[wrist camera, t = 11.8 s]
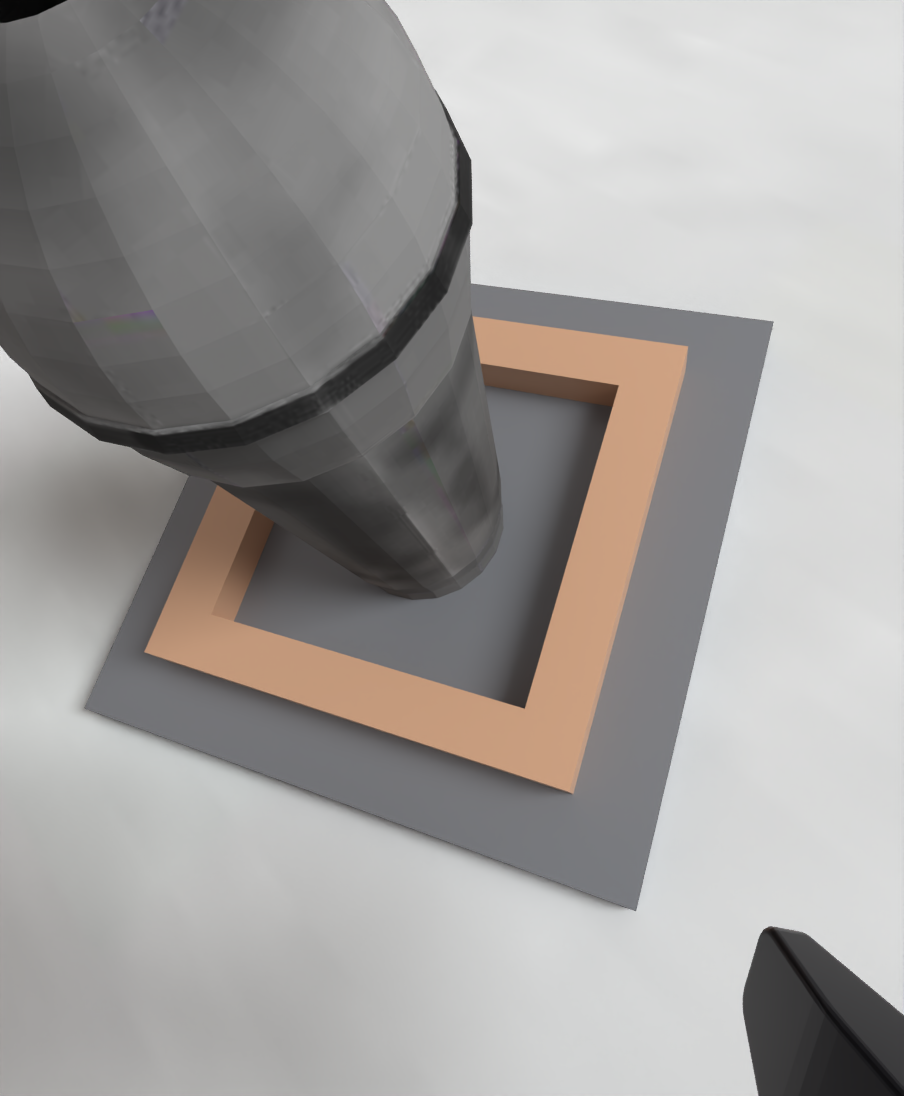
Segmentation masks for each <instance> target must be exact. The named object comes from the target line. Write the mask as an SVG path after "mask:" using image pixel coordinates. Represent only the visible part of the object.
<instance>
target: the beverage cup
mask: <svg viewBox="0 0 904 1096" xmlns="http://www.w3.org/2000/svg"><path fill="white" fill-rule="evenodd" d="M471 226H472V173H471V159H470V157H469V155H468V153H467V151H466V148H465V146H464V144H463V142H462V140H461V138H460V136H459V134H458V132H457V130H456V128H455V126H454V123H453V121H452V119H451V117H450V115H449V113H448V111H447V109H446V107H445V106H444V104H443V102H442V100H441V99H440V97H439V95H438V94H437V92H436V90H435V89H434V87H433V85H432V83H431V81H430V79H429V77H428V75H427V73H426V71H425V69H424V66H423V64H422V62H421V60H420V58H419V56H418V54H417V52H416V50H415V48H414V47H413V45H412V43H411V41H410V39H409V37H408V35H407V34H406V32H405V30H404V28H403V26H402V24H401V23H400V21H399V19H398V17H397V16H396V14H395V13H394V12H393V10H392V9H391V8H390V7H389V5H388V4H387V3H386V1H385V0H0V346H1V347H2V348H3V349H4V351H5V352H6V353H7V354H8V356H9V357H10V358H11V359H12V360H14V361H15V362H16V363H17V364H18V365H19V366H20V367H21V368H22V369H24V370H25V371H26V372H27V373H28V374H29V376H30V378H31V379H32V381H33V383H34V385H35V386H36V388H37V389H38V391H39V392H40V393H41V395H42V396H43V397H44V399H45V400H46V401H47V403H48V404H49V405H50V407H52V408H53V409H55V410H56V411H58V412H59V413H61V414H62V415H63V416H65V417H66V418H68V419H69V420H71V421H72V422H74V423H75V424H76V425H78V426H79V427H81V428H82V429H84V430H85V431H87V432H88V433H89V434H91V435H92V436H94V437H95V438H97V439H98V440H99V441H104V442H109V443H113V444H118V445H123V446H127V447H131V448H133V449H134V450H136V451H137V452H139V453H140V454H142V455H143V456H146V457H148V458H150V459H153V460H155V461H157V462H160V463H162V464H164V465H166V466H169V467H171V468H173V469H176V470H178V471H180V472H183V473H185V474H187V475H189V476H193V477H198V478H202V479H207V480H210V481H212V482H213V483H215V484H217V485H218V486H220V487H221V488H223V489H224V490H226V491H227V492H229V493H230V494H232V495H233V496H235V497H237V498H238V499H240V500H241V501H243V502H244V503H246V504H247V505H249V506H250V507H252V508H253V509H255V510H257V511H258V512H260V513H261V514H263V515H264V516H266V517H267V518H269V519H270V520H272V521H273V522H275V523H277V524H278V525H280V526H281V527H283V528H284V529H286V530H287V531H289V532H290V533H292V534H293V535H295V536H297V537H298V538H300V539H301V540H303V541H304V542H306V543H307V544H309V545H310V546H312V547H313V548H315V549H317V550H318V551H320V552H321V553H323V554H324V555H326V556H327V557H329V558H330V559H332V560H333V561H335V562H337V563H338V564H340V565H341V566H343V567H344V568H346V569H347V570H349V571H350V572H352V573H353V574H355V575H356V576H358V577H360V578H361V579H363V580H364V581H366V582H367V583H369V584H373V585H377V586H378V587H380V588H381V589H383V590H384V591H386V592H387V593H389V594H392V595H396V596H400V597H403V598H407V599H411V600H418V599H432V598H439V597H442V596H444V595H447V594H449V593H452V592H455V591H457V590H460V589H462V588H463V587H464V586H466V585H467V584H468V583H470V582H471V581H472V580H473V579H475V578H476V577H477V576H478V575H480V574H481V573H482V572H483V570H484V569H485V568H486V566H487V565H488V563H489V562H490V560H491V559H492V558H493V556H494V555H495V553H496V552H497V548H498V545H499V542H500V538H501V535H502V532H503V505H502V500H501V478H500V472H499V466H498V460H497V455H496V449H495V443H494V437H493V432H492V426H491V420H490V414H489V409H488V403H487V397H486V391H485V386H484V380H483V374H482V368H481V363H480V357H479V351H478V345H477V340H476V334H475V328H474V322H473V317H472V311H471V280H470V229H471Z"/></svg>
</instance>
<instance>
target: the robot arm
mask: <svg viewBox="0 0 904 1096" xmlns="http://www.w3.org/2000/svg"><path fill="white" fill-rule="evenodd" d="M743 1014H744V1020H745V1026H746V1031H747V1036H748V1042H749V1047H750V1053H751V1058H752V1063H753V1069H754V1074H755V1080H756V1085H757V1090H758V1096H904V1015H903V1014H902V1013H900V1012H899V1011H898V1010H897V1009H896V1008H894V1007H893V1006H892V1005H891V1004H890V1003H889V1002H887V1001H886V1000H885V999H884V998H883V997H881V996H880V995H879V994H878V993H877V992H875V991H874V990H873V989H872V988H871V987H869V986H868V985H867V984H866V983H865V982H863V981H862V980H861V979H860V978H859V977H857V976H856V975H855V974H854V973H853V972H852V971H850V970H849V969H848V968H847V967H846V966H844V965H843V964H842V963H841V962H840V961H838V960H837V959H836V958H835V957H834V956H832V955H831V954H830V953H829V952H828V951H826V950H825V949H824V948H823V947H822V946H821V945H819V944H818V943H817V942H816V941H815V940H813V939H812V938H811V937H810V936H808V935H807V934H805V933H803V932H799V931H794V930H789V929H783V928H778V927H773V926H769V927H768V928H766V929H764V930H763V931H762V933H761V935H760V937H759V940H758V943H757V946H756V950H755V953H754V957H753V960H752V963H751V967H750V970H749V973H748V977H747V980H746V984H745V987H744V992H743Z"/></svg>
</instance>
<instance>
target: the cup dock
mask: <svg viewBox="0 0 904 1096" xmlns="http://www.w3.org/2000/svg"><path fill="white" fill-rule="evenodd" d="M471 311H472V317H473V322H474V328H475V334H476V340H477V345H478V351H479V357H480V363H481V368H482V374H483V380H484V386H485V391H486V397H487V403H488V409H489V414H490V420H491V426H492V432H493V437H494V443H495V449H496V455H497V460H498V466H499V472H500V478H501V500H502V505H503V532H502V535H501V538H500V542H499V545H498V548H497V552H496V553H495V555H494V556H493V558H492V559H491V560H490V562H489V563H488V565H487V566H486V568H485V569H484V570H483V572H482V573H481V574H480V575H478V576H477V577H476V578H475V579H473V580H472V581H471V582H470V583H468V584H467V585H466V586H464V587H463V588H462V589H460V590H457V591H455V592H452V593H449V594H447V595H444V596H442V597H439V598H432V599H418V600H411V599H407V598H403V597H400V596H396V595H392V594H389V593H387V592H386V591H384V590H383V589H381V588H380V587H378V586H377V585H373V584H369V583H367V582H366V581H364V580H363V579H361V578H360V577H358V576H356V575H355V574H353V573H352V572H350V571H349V570H347V569H346V568H344V567H343V566H341V565H340V564H338V563H337V562H335V561H333V560H332V559H330V558H329V557H327V556H326V555H324V554H323V553H321V552H320V551H318V550H317V549H315V548H313V547H312V546H310V545H309V544H307V543H306V542H304V541H303V540H301V539H300V538H298V537H297V536H295V535H293V534H292V533H290V532H289V531H287V530H286V529H284V528H283V527H281V526H280V525H278V524H277V523H275V522H273V521H272V520H270V519H269V518H267V517H266V516H264V515H263V514H261V513H260V512H258V511H257V510H255V509H253V508H252V507H250V506H249V505H247V504H246V503H244V502H243V501H241V500H240V499H238V498H237V497H235V496H233V495H232V494H230V493H229V492H227V491H226V490H224V489H223V488H221V487H220V486H218V485H217V484H215V483H213V482H212V481H210V480H207V479H202V478H198V477H193V476H189V477H188V480H187V482H186V484H185V486H184V488H183V491H182V493H181V495H180V497H179V500H178V502H177V504H176V506H175V508H174V511H173V513H172V515H171V517H170V520H169V522H168V524H167V526H166V528H165V531H164V533H163V535H162V537H161V540H160V542H159V544H158V546H157V548H156V551H155V553H154V555H153V557H152V559H151V562H150V564H149V566H148V568H147V571H146V573H145V575H144V577H143V579H142V582H141V584H140V586H139V588H138V591H137V593H136V595H135V597H134V599H133V602H132V604H131V606H130V608H129V610H128V613H127V615H126V617H125V619H124V622H123V624H122V626H121V628H120V630H119V633H118V635H117V637H116V639H115V642H114V644H113V646H112V648H111V650H110V653H109V655H108V657H107V659H106V662H105V664H104V666H103V668H102V670H101V673H100V675H99V677H98V679H97V681H96V684H95V686H94V688H93V690H92V693H91V695H90V697H89V699H88V701H87V704H86V706H85V709H88V710H90V711H93V712H96V713H99V714H101V715H104V716H107V717H109V718H112V719H115V720H118V721H120V722H123V723H126V724H128V725H131V726H134V727H137V728H139V729H142V730H145V731H147V732H150V733H153V734H156V735H158V736H161V737H164V738H166V739H169V740H172V741H175V742H177V743H180V744H183V745H186V746H188V747H191V748H194V749H196V750H199V751H202V752H205V753H207V754H210V755H213V756H215V757H218V758H221V759H224V760H226V761H229V762H232V763H234V764H237V765H240V766H243V767H245V768H248V769H251V770H253V771H256V772H259V773H262V774H264V775H267V776H270V777H273V778H275V779H278V780H281V781H283V782H286V783H289V784H292V785H294V786H297V787H300V788H302V789H305V790H308V791H311V792H313V793H316V794H319V795H321V796H324V797H327V798H330V799H332V800H335V801H338V802H340V803H343V804H346V805H349V806H351V807H354V808H357V809H360V810H362V811H365V812H368V813H370V814H373V815H376V816H379V817H381V818H384V819H387V820H389V821H392V822H395V823H398V824H400V825H403V826H406V827H408V828H411V829H414V830H417V831H419V832H422V833H425V834H427V835H430V836H433V837H436V838H438V839H441V840H444V841H446V842H449V843H452V844H455V845H457V846H460V847H463V848H466V849H468V850H471V851H474V852H476V853H479V854H482V855H485V856H487V857H490V858H493V859H495V860H498V861H501V862H504V863H506V864H509V865H512V866H514V867H517V868H520V869H523V870H525V871H528V872H531V873H533V874H536V875H539V876H542V877H544V878H547V879H550V880H553V881H555V882H558V883H561V884H563V885H566V886H569V887H572V888H574V889H577V890H580V891H582V892H585V893H588V894H591V895H593V896H596V897H599V898H601V899H604V900H607V901H610V902H612V903H615V904H618V905H620V906H623V907H626V908H629V909H631V910H634V911H636V909H637V904H638V900H639V896H640V892H641V887H642V883H643V879H644V874H645V870H646V866H647V862H648V857H649V853H650V849H651V845H652V840H653V836H654V832H655V827H656V823H657V819H658V815H659V810H660V806H661V802H662V797H663V793H664V789H665V785H666V780H667V776H668V772H669V767H670V763H671V759H672V755H673V750H674V746H675V742H676V737H677V733H678V729H679V725H680V720H681V716H682V712H683V708H684V703H685V699H686V695H687V690H688V686H689V682H690V678H691V673H692V669H693V665H694V660H695V656H696V652H697V648H698V643H699V639H700V635H701V630H702V626H703V622H704V618H705V613H706V609H707V605H708V601H709V596H710V592H711V588H712V583H713V579H714V575H715V571H716V566H717V562H718V558H719V553H720V549H721V545H722V541H723V536H724V532H725V528H726V523H727V519H728V515H729V511H730V506H731V502H732V498H733V493H734V489H735V485H736V481H737V476H738V472H739V468H740V464H741V459H742V455H743V451H744V446H745V442H746V438H747V434H748V429H749V425H750V421H751V416H752V412H753V408H754V404H755V399H756V395H757V391H758V386H759V382H760V378H761V374H762V369H763V365H764V361H765V356H766V352H767V348H768V344H769V339H770V335H771V331H772V327H773V321H765V320H757V319H749V318H741V317H733V316H725V315H717V314H709V313H701V312H693V311H685V310H677V309H669V308H661V307H653V306H645V305H637V304H630V303H622V302H614V301H606V300H598V299H590V298H582V297H574V296H566V295H558V294H550V293H542V292H534V291H526V290H518V289H510V288H502V287H494V286H486V285H478V284H471Z"/></svg>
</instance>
